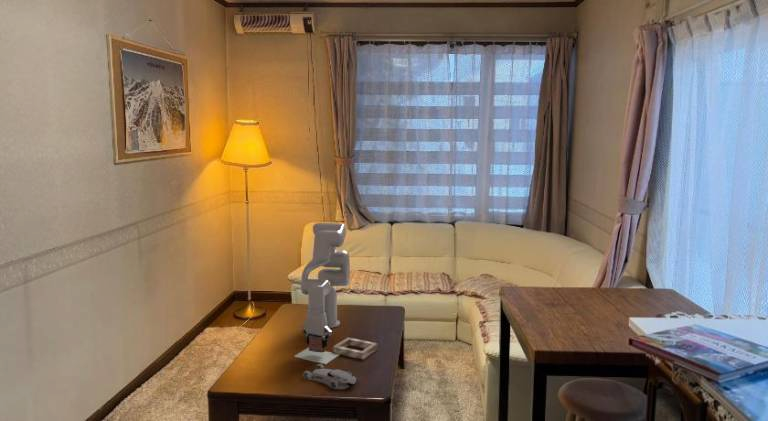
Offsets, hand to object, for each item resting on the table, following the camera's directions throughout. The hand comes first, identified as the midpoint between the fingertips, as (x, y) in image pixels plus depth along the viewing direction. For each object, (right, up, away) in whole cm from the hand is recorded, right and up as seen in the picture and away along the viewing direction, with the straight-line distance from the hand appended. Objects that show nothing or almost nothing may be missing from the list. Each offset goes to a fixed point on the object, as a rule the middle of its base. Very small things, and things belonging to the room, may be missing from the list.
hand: (316, 345), depth 253 cm
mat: (0, -5, +1) cm, 5 cm away
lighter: (0, -3, 0) cm, 3 cm away
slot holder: (+18, -5, +7) cm, 20 cm away
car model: (+9, -9, -24) cm, 27 cm away
